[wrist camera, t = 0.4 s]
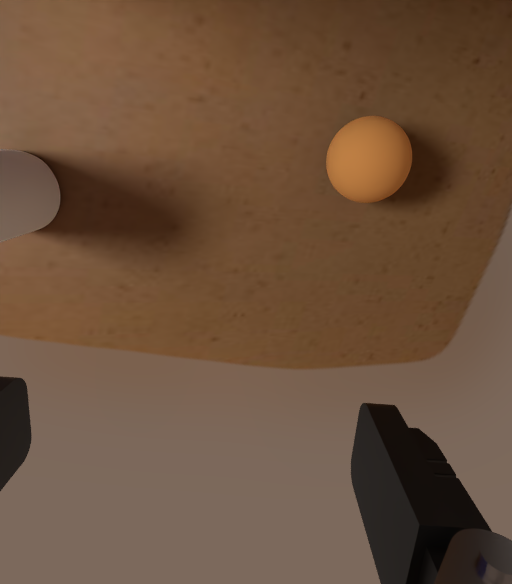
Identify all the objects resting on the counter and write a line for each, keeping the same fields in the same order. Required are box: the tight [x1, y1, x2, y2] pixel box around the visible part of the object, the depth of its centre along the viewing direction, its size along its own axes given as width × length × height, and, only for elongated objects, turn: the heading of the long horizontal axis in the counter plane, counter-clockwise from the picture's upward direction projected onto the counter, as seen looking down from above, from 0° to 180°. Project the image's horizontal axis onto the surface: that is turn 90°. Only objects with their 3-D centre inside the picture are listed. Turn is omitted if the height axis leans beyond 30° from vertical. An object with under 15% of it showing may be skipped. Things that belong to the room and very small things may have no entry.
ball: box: [326, 116, 412, 203], centre depth 30 cm, size 6×6×6 cm
